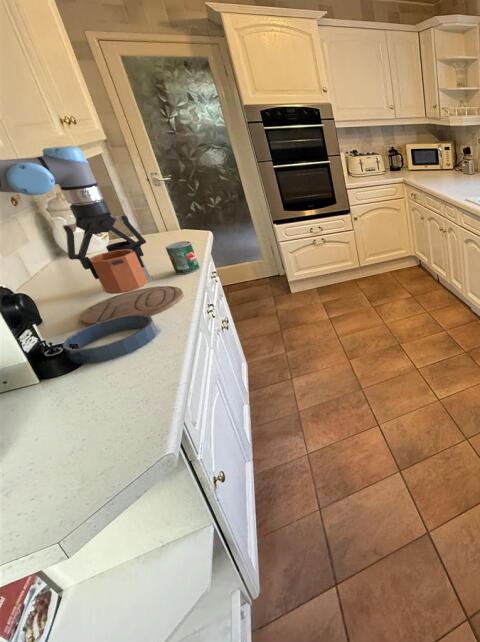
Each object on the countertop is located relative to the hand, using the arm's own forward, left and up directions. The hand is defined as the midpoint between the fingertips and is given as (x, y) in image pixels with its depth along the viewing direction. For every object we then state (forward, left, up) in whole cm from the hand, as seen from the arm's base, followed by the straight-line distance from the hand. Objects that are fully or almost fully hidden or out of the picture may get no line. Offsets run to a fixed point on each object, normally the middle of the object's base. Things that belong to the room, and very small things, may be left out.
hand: (119, 271), depth 123 cm
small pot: (0, 0, -5) cm, 5 cm away
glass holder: (-14, +27, -13) cm, 33 cm away
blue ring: (+10, -26, -13) cm, 31 cm away
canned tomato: (0, +31, -13) cm, 34 cm away
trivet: (0, 0, -13) cm, 13 cm away
